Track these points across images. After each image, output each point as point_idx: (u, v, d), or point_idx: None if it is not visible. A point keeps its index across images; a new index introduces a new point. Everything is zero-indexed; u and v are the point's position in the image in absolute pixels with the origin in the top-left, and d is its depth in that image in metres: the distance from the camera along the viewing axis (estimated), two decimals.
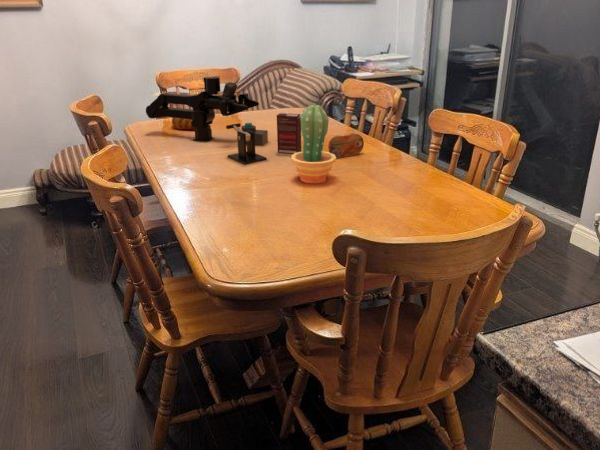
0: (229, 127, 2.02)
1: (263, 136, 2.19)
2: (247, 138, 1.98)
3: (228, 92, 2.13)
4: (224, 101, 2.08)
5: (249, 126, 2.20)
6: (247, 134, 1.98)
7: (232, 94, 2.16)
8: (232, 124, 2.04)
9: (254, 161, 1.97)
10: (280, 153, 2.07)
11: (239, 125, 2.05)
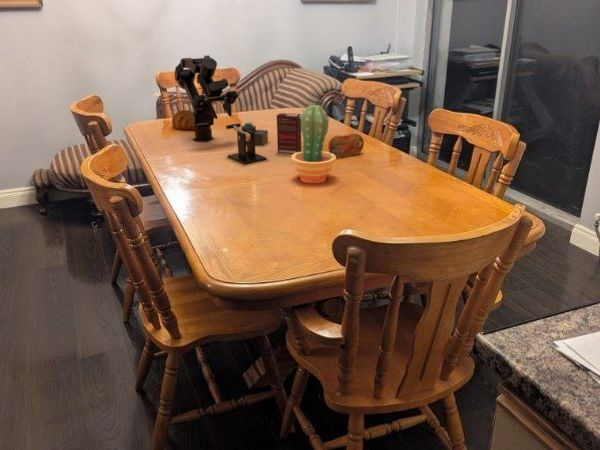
0: (229, 127, 2.02)
1: (263, 136, 2.19)
2: (247, 138, 1.98)
3: (212, 89, 2.05)
4: (197, 99, 2.02)
5: (249, 126, 2.20)
6: (247, 134, 1.98)
7: (218, 90, 2.08)
8: (232, 124, 2.04)
9: (254, 161, 1.97)
10: (280, 153, 2.07)
11: (239, 125, 2.05)
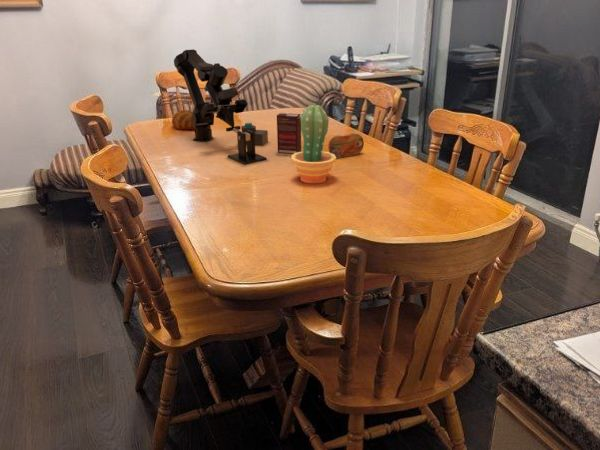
0: (229, 129, 2.03)
1: (263, 136, 2.19)
2: (247, 138, 1.98)
3: (221, 98, 2.01)
4: (206, 108, 1.99)
5: (249, 126, 2.20)
6: (247, 134, 1.98)
7: (227, 99, 2.04)
8: (232, 127, 2.04)
9: (254, 161, 1.97)
10: (280, 153, 2.07)
11: (239, 127, 2.06)
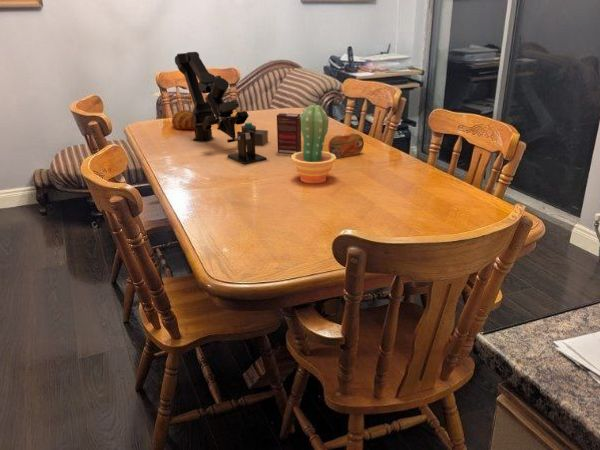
0: (230, 140, 2.04)
1: (263, 136, 2.19)
2: (247, 136, 1.97)
3: (222, 110, 2.03)
4: (207, 120, 2.00)
5: (249, 126, 2.20)
6: (246, 133, 1.98)
7: (228, 111, 2.05)
8: None
9: (254, 161, 1.97)
10: (280, 153, 2.07)
11: None
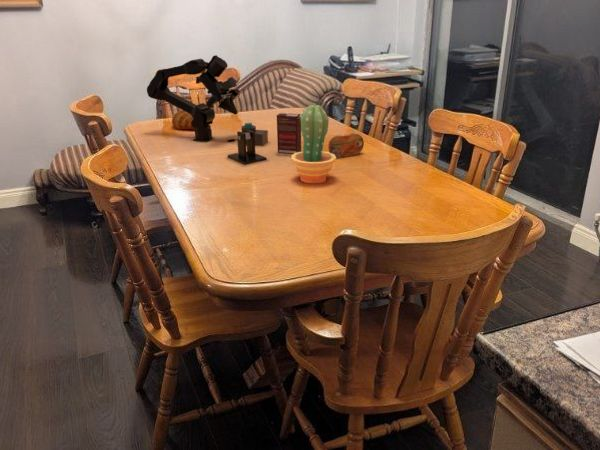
0: (230, 140, 2.04)
1: (263, 136, 2.19)
2: (247, 136, 1.97)
3: (225, 88, 2.13)
4: (216, 98, 2.09)
5: (249, 126, 2.20)
6: (246, 133, 1.98)
7: (227, 89, 2.16)
8: None
9: (254, 161, 1.97)
10: (280, 153, 2.07)
11: None
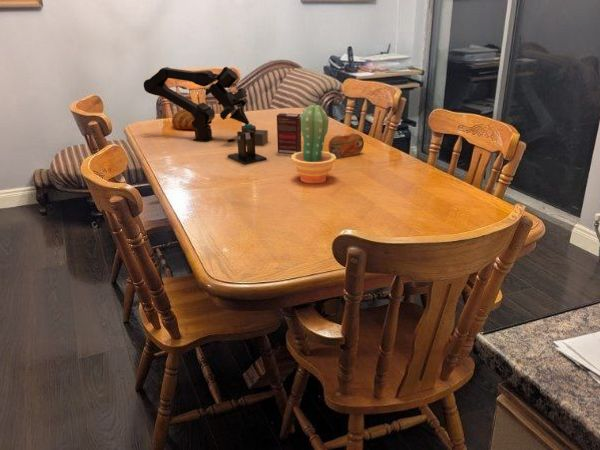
0: (230, 140, 2.04)
1: (263, 136, 2.19)
2: (247, 136, 1.97)
3: (237, 98, 2.16)
4: (230, 109, 2.11)
5: (249, 127, 2.20)
6: (246, 133, 1.98)
7: (238, 99, 2.19)
8: None
9: (254, 161, 1.97)
10: (280, 153, 2.07)
11: None
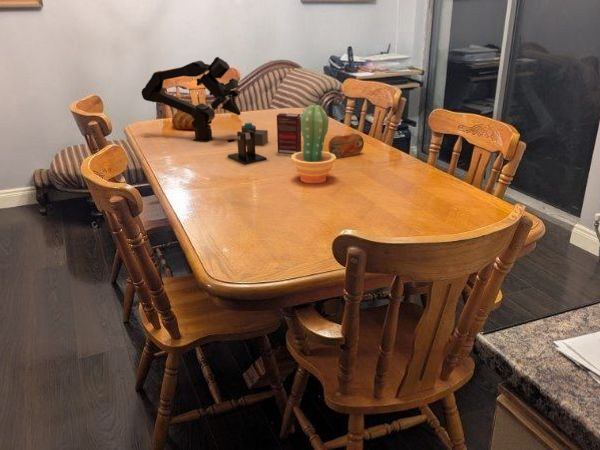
0: (230, 140, 2.04)
1: (263, 136, 2.19)
2: (247, 136, 1.97)
3: (228, 89, 2.15)
4: (222, 99, 2.10)
5: (249, 126, 2.20)
6: (246, 133, 1.98)
7: (229, 90, 2.18)
8: None
9: (254, 161, 1.97)
10: (280, 153, 2.07)
11: None
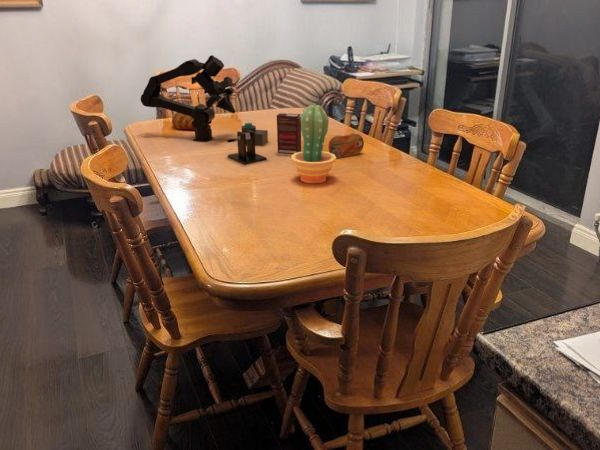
0: (230, 140, 2.04)
1: (263, 136, 2.19)
2: (247, 136, 1.97)
3: (223, 87, 2.15)
4: (216, 97, 2.11)
5: (249, 126, 2.20)
6: (246, 133, 1.98)
7: (224, 88, 2.19)
8: None
9: (254, 161, 1.97)
10: (280, 153, 2.07)
11: None
